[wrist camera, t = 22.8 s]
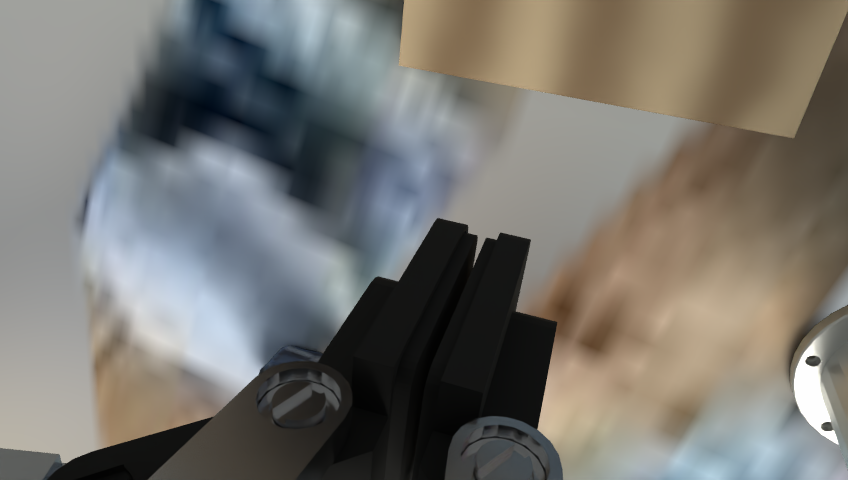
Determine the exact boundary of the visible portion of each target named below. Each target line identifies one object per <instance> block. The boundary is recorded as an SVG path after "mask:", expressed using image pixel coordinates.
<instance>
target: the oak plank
mask: <svg viewBox="0 0 848 480" xmlns="http://www.w3.org/2000/svg"><path fill="white" fill-rule="evenodd" d="M847 12H848V0H404V10H403V22H402V34H401V47H400V59H399V66H405V67H410V68H415V69H421V70H426V71H432V72H437V73H443V74H448V75H453V76H459V77H464V78H470V79H475V80H480V81H486V82H491V83H497V84H502V85H508V86H513V87H518V88H524V89H529V90H535V91H540V92H545V93H551V94H557V95H562V96H567V97H572V98H579V99H584V100H589V101H594V102H600V103H605V104H611V105H616V106H621V107H627V108H632V109H638V110H643V111H648V112H654V113H659V114H665V115H670V116H675V117H681V118H686V119H692V120H697V121H702V122H708V123H713V124H719V125H724V126H730V127H735V128H740V129H746V130H751V131H757V132H762V133H767V134H773V135H778V136H784V137H789V138H794V137H795V135H796V132H797V130H798V128H799V125H800V123H801V121H802V118H803V116H804V113H805V111H806V109H807V106H808V104H809V102H810V99H811V97H812V95H813V92H814V90H815V87H816V85H817V83H818V80H819V78H820V76H821V73H822V71H823V68H824V66H825V64H826V61H827V59H828V57H829V54H830V52H831V50H832V47H833V45H834V42H835V40H836V38H837V35H838V33H839V31H840V28H841V26H842V23H843V21H844V19H845V16H846V14H847Z"/></svg>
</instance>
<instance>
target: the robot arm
mask: <svg viewBox="0 0 848 480" xmlns="http://www.w3.org/2000/svg"><path fill="white" fill-rule="evenodd" d="M477 238H478V237H477V235H473V234H469V233H468V225H466V224H461V223H456V222H453V221H448V220H444V219H440V218H437V219H436V221H435V222H434V224H433V226H432V227H431V229H430V231H429V232H428V234H427V236H426V237H425V239H424V240H423V242H422V244H421V245H420V247H419V249H418V250H417V252H416V254H415V255H414V257H413V259H412V260H411V262H410V264H409V265H408V267H407V269H406V270H405V272H404V273H403V275H402V277H401V278H400V280H399V282H398V281H394V280H390V279H386V278H382V277H376V278H374V280H373V281H372V282H371V283H370V285H369V286H368V288H367V289H366V291H365V292H364V294H363V295H362V297H361V298H360V300H359V301H358V303H357V304H356V306H355V307H354V309H353V310H352V311H351V313H350V314H349V316H348V317H347V319H346V320H345V322H344V323H343V325H342V326H341V328H340V329H339V331H338V332H337V334H336V335H335V337H334V338H333V340H332V341H331V343H330V344H329V346H328V347H327V349H326V350H325V352H324V353H323V355H322V356H321V357H320V359H319V360H318V362H312V361H293V362H287V363H281V364H279V365H276V366H274V367H271V368H268V369H267V370H265V371H264V372H262V373H261V374H260V375H258V376H257V377H255V378H254V379H253V380H252V381H251V382H250V383H249V384H248V385H247V386H246V387H245V388H244V389H243V390H242V391H241V392H240V393H238V394H237V395H236V396H235V397H234V398H233V399H232V400H231V401H230V402H229V403H228V404H227V405H226V406H225V407H224V408H223V409H222V410H221V411H219V412H218V413H217V414H216V415H215V416H214V417H211V418H207V419H204V420H200V421H197V422H194V423H190V424H187V425H183V426H180V427H176V428H173V429H169V430H166V431H162V432H159V433H155V434H152V435H148V436H145V437H141V438H138V439H134V440H131V441H127V442H124V443H120V444H117V445H114V446H110V447H107V448H103V449H100V450H96V451H93V452H90V453H88V454H85V455H82V456H80V457H77V458H75V459H73V460H71V461H70V462H68V463H62V462H61V458H60V455H59V454H51V453H41V452H32V451H22V450H13V449H3V448H0V480H563V473H562V466H561V462H560V458H559V454H558V453H557V451H556V450H555V448H554V447H553V445H552V443H551V442H550V441H549V440H548V439H547V438H546V437H545V436H544V435H543V434H542V433H541V432H539V431H538V430H537V428H538V423H539V418H540V412H541V407H542V402H543V396H544V391H545V386H546V380H547V375H548V370H549V364H550V359H551V354H552V348H553V343H554V337H555V332H556V326H557V322H555V321H551V320H547V319H543V318H539V317H535V316H531V315H527V314H523V313H520V312H516V307H517V302H518V298H519V293H520V288H521V284H522V279H523V274H524V270H525V265H526V261H527V256H528V252H529V247H530V242H531V240H530V239H526V238H521V237H517V236H513V235H508V234H504V233H500V234H499V236H498V239H497V240H494V239H490V238H486V239H485V242H484V244H483V246H482V249H481V251H480V253H479V255H478V258H477V260H476V263H475V265H474V267H473V264H474V258H475V252H476V246H477ZM790 384H791V388H792V392H793V396H794V399H795V401H796V404H797V406H798V409H799V411H800V412H801V414H802V415H803V416H804V418H805V419H806V421H807V422H808V423H809V424H810V425H811V426H812V427H813V428H814V429H815V430H816V431H817V432H818V433H820V434H821V435H823V436H824V437H826V438H828V439H829V440H831V441H832V442H834V443H836V444H838V445H839V447H840V450H841V453H842V456H843V459H844V461H845V464H846V467H847V470H848V305H847V306H845V307H843V308H841V309H839V310H837V311H835V312H833V313H831V314H830V315H829V316H827V317H826V318H825V319H823V320H822V321H821V322H819V323H818V324H817V325H815V326H814V327H813V329H812V330H811V331H810V332H809V333H808V334H807V335H806V336H805V337H804V338H803V340H802V341H801V343H800V345H799V346H798V348H797V350H796V351H795V354H794V357H793V360H792V363H791V367H790Z"/></svg>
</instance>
